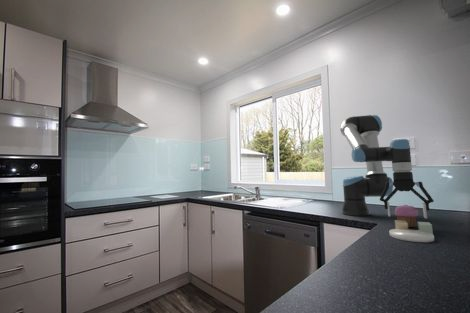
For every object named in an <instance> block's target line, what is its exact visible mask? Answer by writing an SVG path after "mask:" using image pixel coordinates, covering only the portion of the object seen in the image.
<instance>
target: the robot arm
mask: <svg viewBox="0 0 470 313" xmlns="http://www.w3.org/2000/svg"><path fill="white" fill-rule="evenodd" d="M382 128H383V122H382V119H381V118H380V117H379V116H378V115H377V114H368V115H357V116H355V115H354V116H349V117H348V118H346V119H344V120H343V122H342V123H341V125H340V133H341V135H342V136H343V137H345V138H346V140H347V142H348V144H349V146H350V147H351V160H352V161H353V162H354V163H365V165H366V171H367V173H366V174H365V177H364V175H357V176H354V175H353V176H349V177H345V178H343V180H342V187H343V199H344V200H343V205H342V209H341V214H343V215H347V216H356V217H357V216H358V217H360V216H361V217H364V216H369V215H370V208H368V205H367V203H366V198H369V197H371V198H372V197H380V198H379V201H380V202H382V203H383V204H384V209H385V210H387V215H388V217H391V209H390V202H389V201H390V200H391V198H393V196H394V195H395V194H396V193H397V192H398V191H399V192H410V191H411V192H412V193H413V194H414V195H416V196H417V197H418V198H419V199H420V200H421V201H422V203H421V204H422V212H423V213H422V214H423V218H424V219H428V212H429V211H430V206H429V205H430V203H434V199H433V198H432V196H431V195H430V194H429V192H428V191H427V190H426V188H425V187H424V184H423V182H422V181H417V182H415V181H414V175H413V172H412V171H413V167H412V157H411V145H410V141H409V140H408V139H406V138H401V139H395V140H394V139H393V140H391V141H390V142H389V146H380V143H379V139H378V136H379V135H380V132H381V131H382ZM383 162H391V168H392V172H393V173H392V176H393V177H392V178H393V180H392V178H391V176H390V177H389V176H388V174H387V173H386V172H385V171H384V167H383ZM415 185H416V187H418V188H419V189H420V191H421V192H422V193H423V194H424V196H425V197H426V198H427V199H426V198H425V197H424V196H422V195H421V194H420V193H419V192H418V191H417V190H416V189H415V188H414V186H415ZM385 197H386V198H385Z"/></svg>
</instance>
